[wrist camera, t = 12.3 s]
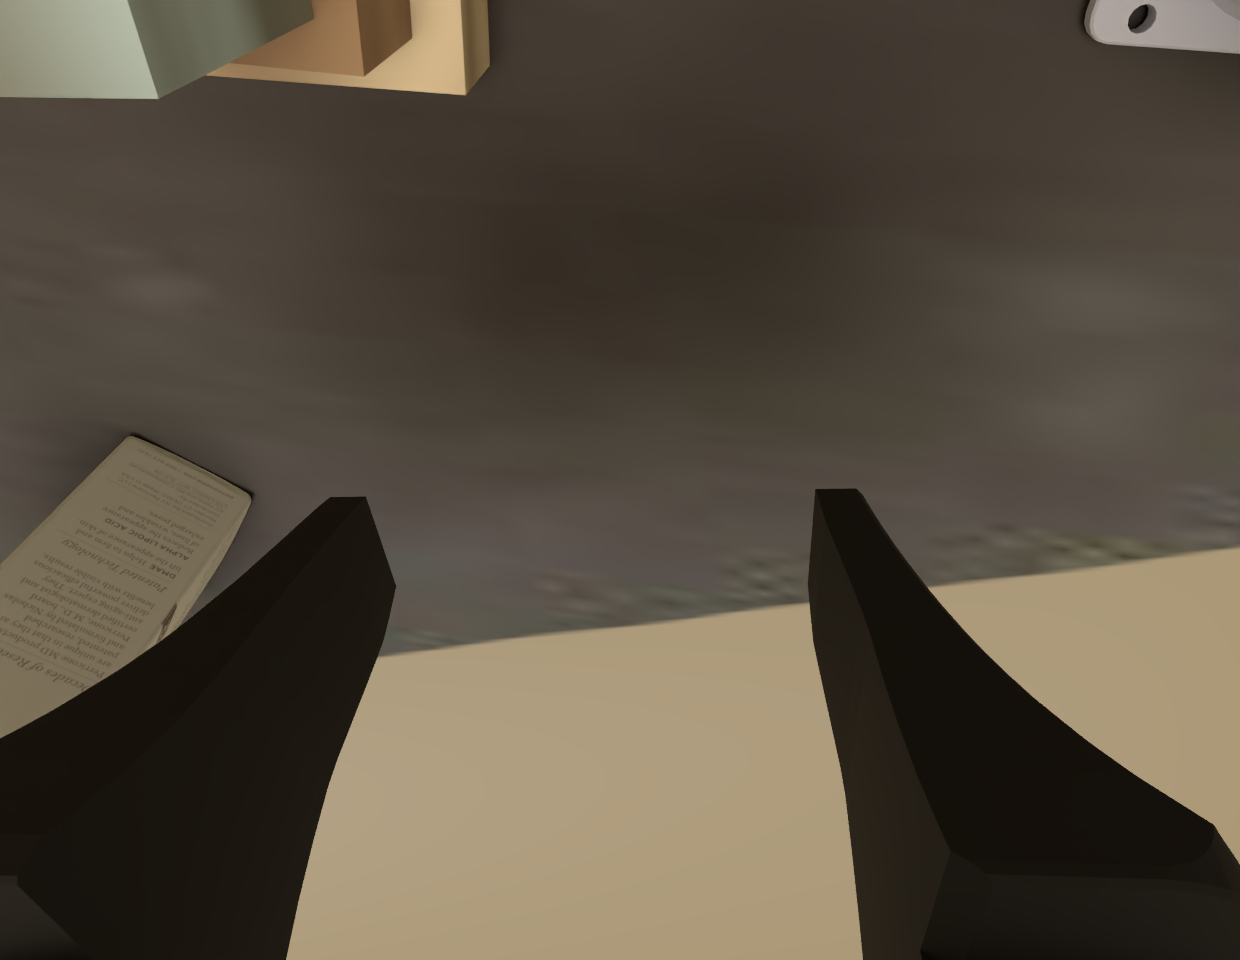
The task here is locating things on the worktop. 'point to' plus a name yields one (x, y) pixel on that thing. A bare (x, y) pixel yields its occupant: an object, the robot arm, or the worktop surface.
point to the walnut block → (339, 38)
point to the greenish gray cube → (131, 43)
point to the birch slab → (411, 54)
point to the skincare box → (108, 575)
